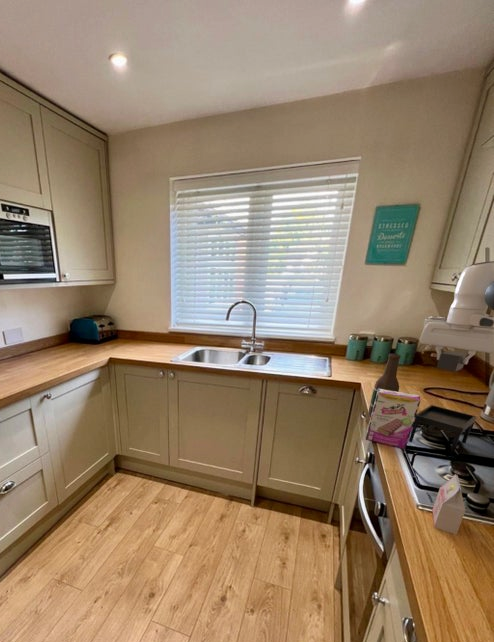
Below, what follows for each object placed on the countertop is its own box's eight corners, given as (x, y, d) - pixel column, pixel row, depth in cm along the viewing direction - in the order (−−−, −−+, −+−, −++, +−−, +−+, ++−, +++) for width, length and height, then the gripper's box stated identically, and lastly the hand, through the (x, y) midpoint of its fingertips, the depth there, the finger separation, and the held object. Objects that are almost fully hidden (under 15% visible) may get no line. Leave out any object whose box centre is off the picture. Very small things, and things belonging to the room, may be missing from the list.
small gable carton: (452, 515, 72) (467, 476, 68) (456, 534, 67) (472, 493, 63) (432, 509, 74) (445, 471, 70) (433, 527, 68) (448, 486, 65)
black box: (462, 368, 108) (467, 353, 107) (455, 371, 104) (460, 356, 102) (444, 365, 112) (448, 350, 110) (436, 368, 107) (440, 353, 106)
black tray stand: (466, 442, 105) (476, 416, 102) (453, 456, 96) (463, 428, 93) (423, 429, 114) (431, 404, 111) (407, 441, 105) (414, 414, 102)
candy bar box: (365, 440, 105) (376, 392, 99) (365, 434, 109) (377, 387, 103) (406, 450, 100) (421, 399, 94) (405, 443, 104) (420, 394, 98)
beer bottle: (393, 417, 124) (410, 354, 115) (388, 423, 118) (405, 357, 110) (370, 411, 128) (385, 350, 120) (364, 417, 123) (379, 354, 115)
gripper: (422, 315, 108) (411, 357, 113) (506, 322, 93) (489, 369, 98) (429, 314, 112) (418, 354, 116) (510, 321, 97) (494, 366, 101)
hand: (451, 361), depth 107 cm, fingers closed on black box, 5 cm apart
